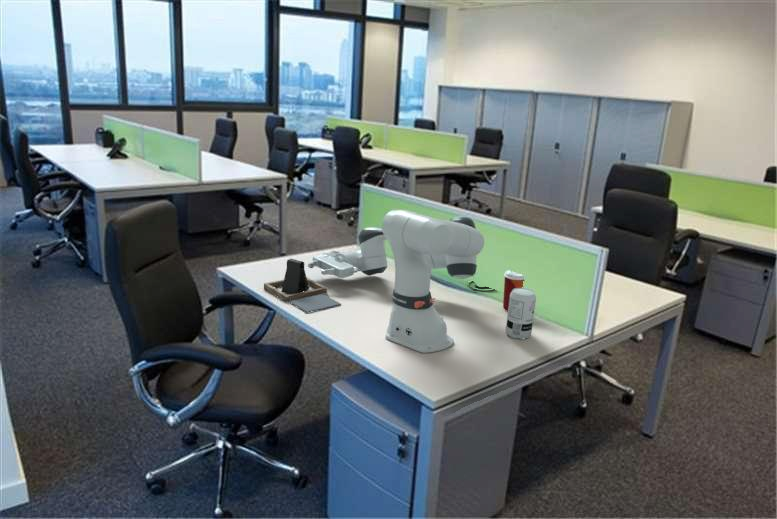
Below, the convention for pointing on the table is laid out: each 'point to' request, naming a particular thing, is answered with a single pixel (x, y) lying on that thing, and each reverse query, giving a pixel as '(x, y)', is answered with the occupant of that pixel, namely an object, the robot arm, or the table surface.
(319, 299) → the charcoal mat
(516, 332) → the supplement can
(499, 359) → the table surface
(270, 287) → the walnut frame
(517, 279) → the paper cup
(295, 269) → the phone stand
